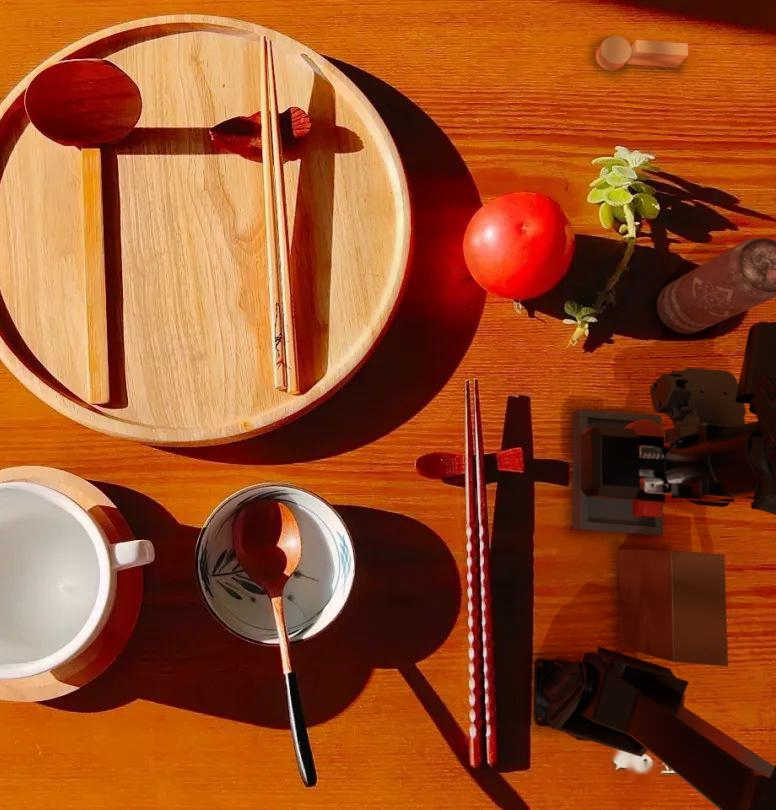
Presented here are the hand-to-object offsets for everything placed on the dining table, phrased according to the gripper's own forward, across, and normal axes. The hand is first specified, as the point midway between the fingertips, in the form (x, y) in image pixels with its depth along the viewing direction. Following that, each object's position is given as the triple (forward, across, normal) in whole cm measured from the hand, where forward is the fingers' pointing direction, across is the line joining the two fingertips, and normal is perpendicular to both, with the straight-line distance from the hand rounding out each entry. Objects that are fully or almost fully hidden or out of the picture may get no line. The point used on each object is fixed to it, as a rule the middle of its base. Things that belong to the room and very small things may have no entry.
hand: (640, 476), depth 76 cm
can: (+6, -8, -20) cm, 22 cm away
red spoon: (0, 0, -1) cm, 1 cm away
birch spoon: (+6, -3, -50) cm, 51 cm away
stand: (+6, -3, +12) cm, 14 cm away
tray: (+6, 0, -1) cm, 6 cm away
